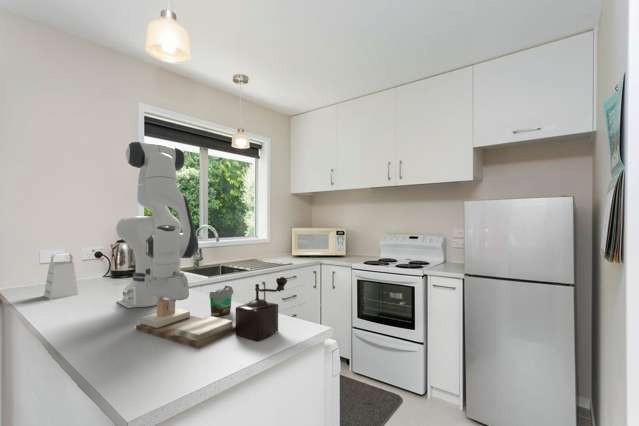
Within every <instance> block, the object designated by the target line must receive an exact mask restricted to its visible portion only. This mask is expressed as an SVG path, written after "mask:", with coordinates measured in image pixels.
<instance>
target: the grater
mask: <svg viewBox="0 0 639 426" xmlns="http://www.w3.org/2000/svg"><path fill="white" fill-rule="evenodd" d="M63 255H66V253H60V254H52V255H51V256H50V262H49V263H48V264H49V265H48V271H47V275H46V282H45V286H44V291H43V297H45V298H47V299H49V300H53V299H60V298H67V297H71V296H72V297H73V296H78V295H79V292H78V291H79V290H78V284H77V277H76V271H75V269H76V268H75V265H74V264H75V262H73V255H72V254H71V253H68V256H69V261H60V262H59V261H58V262H54V258H55V256H63Z"/></svg>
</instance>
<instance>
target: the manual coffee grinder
mask: <svg viewBox="0 0 639 426" xmlns="http://www.w3.org/2000/svg"><path fill="white" fill-rule="evenodd" d="M275 281H276V284H277V286H276V288H275V289H274V288H260V284H258V283H256V284H255V287H254V290H255V299H252V300H251V301H249V302H248V303H244V304H241V305H239V306H236V307H235V320H234V321H235V325H234V326H235V332H234V335H235V336H237V337H239V338H242V339H246V340H249V341H253V342H257V343H258V342H261V341H264V340H265V339H268V338H270V337H272V335H274V334H277V332H278V331H279V304H278V303H273V302H269V301H267V300H264V299H263V298H262V299H261V298H260V297H259V294H260V293H263V292H269V293H270V292H271V293H275V292H282V291H285V286H286V284H287V283H288V279H287V278H286V277H284V276H278V277H277V278H276V280H275Z"/></svg>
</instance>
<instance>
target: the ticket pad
mask: <svg viewBox="0 0 639 426" xmlns="http://www.w3.org/2000/svg"><path fill="white" fill-rule="evenodd" d="M233 322H234V321H233V320H231V319H226V318H222V317H213V316H211V315H207V316H205V317H199V316H193V315H191V314H190V317H188V318H185V319H182V320H179V321H176V322H173V323H170V324H167V325H164V326H161V327H158V328H155V327H152V326H148V325H145V324H141V323H137V324H136V325H135V330H136V331H140V332H143V333H145V334H146V333H147V334H149V335H152V336H156V337H159V338H162V339H165V340H168V341H172V342H176V343H178V344H181V343H182V344H183V345H185V346H189V347H192V348H196V349H200V348H202V347H204V346H207V345H210V344H211V343H213V342H215V341H218V340H219V339H222V338H224V337H227V336H228V335H231V334H234V333H235V325H233ZM182 344H181V345H182Z"/></svg>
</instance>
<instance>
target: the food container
mask: <svg viewBox="0 0 639 426" xmlns="http://www.w3.org/2000/svg"><path fill="white" fill-rule="evenodd" d="M233 294H234V288H233V287H232V286H230V285H224V288H221V289H218V290H215V291H210V292H209V297H208V298H210V299H209V300H210V301H209V302H210V316H213V317H218V318H222V317H223V318H224V317H226V316H228V315H230V314H231V307H232V298H233Z"/></svg>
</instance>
